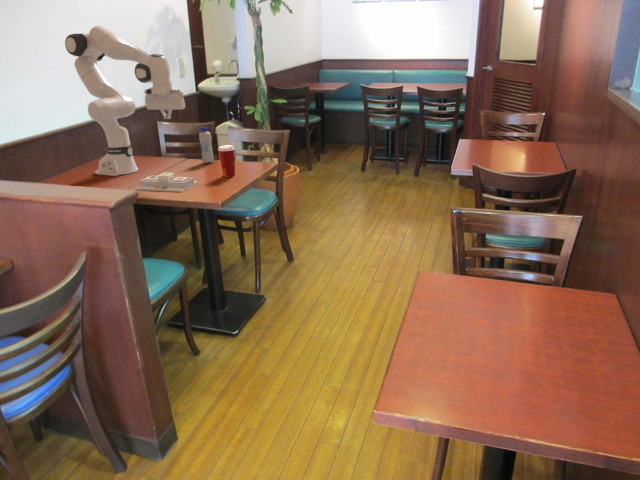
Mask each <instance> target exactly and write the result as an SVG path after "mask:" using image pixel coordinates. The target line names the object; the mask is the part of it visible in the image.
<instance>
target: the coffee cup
mask: <svg viewBox="0 0 640 480" xmlns="http://www.w3.org/2000/svg"><path fill="white" fill-rule="evenodd" d="M235 149H236V148H234V145H232V144H224V145H220V146H218V149H217V151H218V153H219V160H220V165H221V170H222V171H221V172H222V177H224V178H233V177H235V176H236V164H235V162H236V161H235Z"/></svg>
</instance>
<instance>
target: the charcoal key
mask: <svg viewBox="0 0 640 480" xmlns="http://www.w3.org/2000/svg"><path fill="white" fill-rule="evenodd" d="M144 179H145V181H156V180H158V175H149V176H147V177H145V178H144Z"/></svg>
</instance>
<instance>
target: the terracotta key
mask: <svg viewBox="0 0 640 480" xmlns="http://www.w3.org/2000/svg"><path fill="white" fill-rule="evenodd" d="M176 177H177V178H175V179H173V180H172V181H173V182H185V181H187V180H189V178H190V177H189V176H176Z"/></svg>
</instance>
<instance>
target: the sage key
mask: <svg viewBox="0 0 640 480" xmlns="http://www.w3.org/2000/svg"><path fill="white" fill-rule="evenodd" d="M157 176H158V180H159V181H166V182H169V181H171V180H173V179H175V177H176V176H175V173H174V172H162V173H161V174H158V175H157Z"/></svg>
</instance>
